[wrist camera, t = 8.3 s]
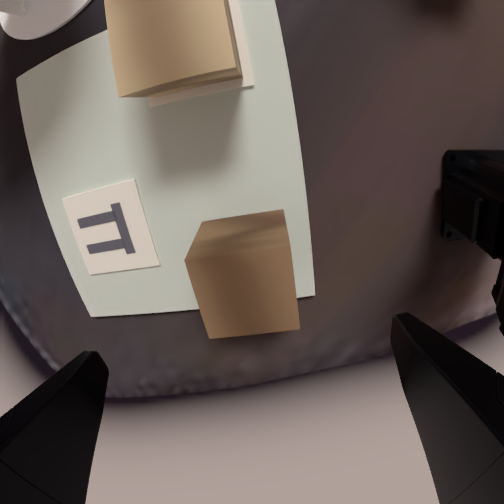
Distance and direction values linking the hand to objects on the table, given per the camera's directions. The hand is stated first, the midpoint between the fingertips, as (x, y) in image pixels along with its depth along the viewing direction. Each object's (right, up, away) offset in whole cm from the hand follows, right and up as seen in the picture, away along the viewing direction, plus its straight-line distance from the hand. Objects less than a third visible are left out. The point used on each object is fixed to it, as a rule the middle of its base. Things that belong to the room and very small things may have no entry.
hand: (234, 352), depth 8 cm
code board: (-6, +8, +10) cm, 14 cm away
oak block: (-3, +14, +6) cm, 15 cm away
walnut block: (0, +3, +12) cm, 12 cm away
